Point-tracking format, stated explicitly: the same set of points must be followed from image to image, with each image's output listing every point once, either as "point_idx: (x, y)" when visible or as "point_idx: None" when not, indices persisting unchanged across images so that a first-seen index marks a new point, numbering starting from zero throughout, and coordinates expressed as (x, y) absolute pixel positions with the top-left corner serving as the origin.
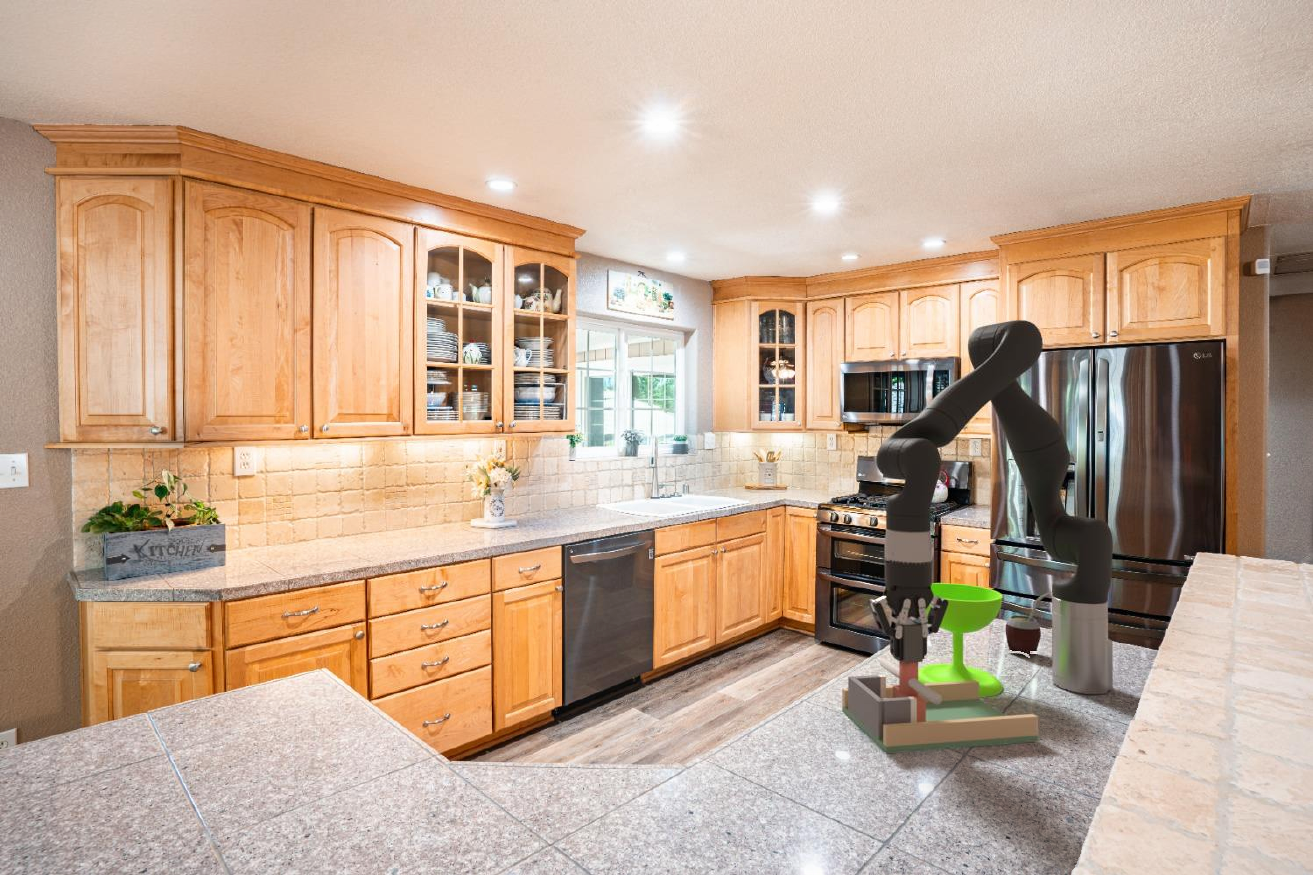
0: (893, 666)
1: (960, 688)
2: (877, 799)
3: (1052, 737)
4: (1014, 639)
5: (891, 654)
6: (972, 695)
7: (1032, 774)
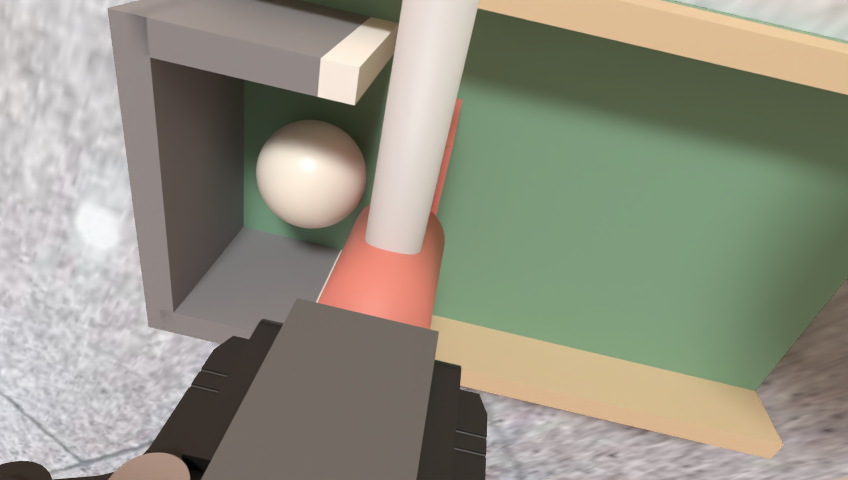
0: (394, 144)
1: None
2: (116, 391)
3: (813, 390)
4: None
5: (232, 338)
6: None
7: (522, 458)
